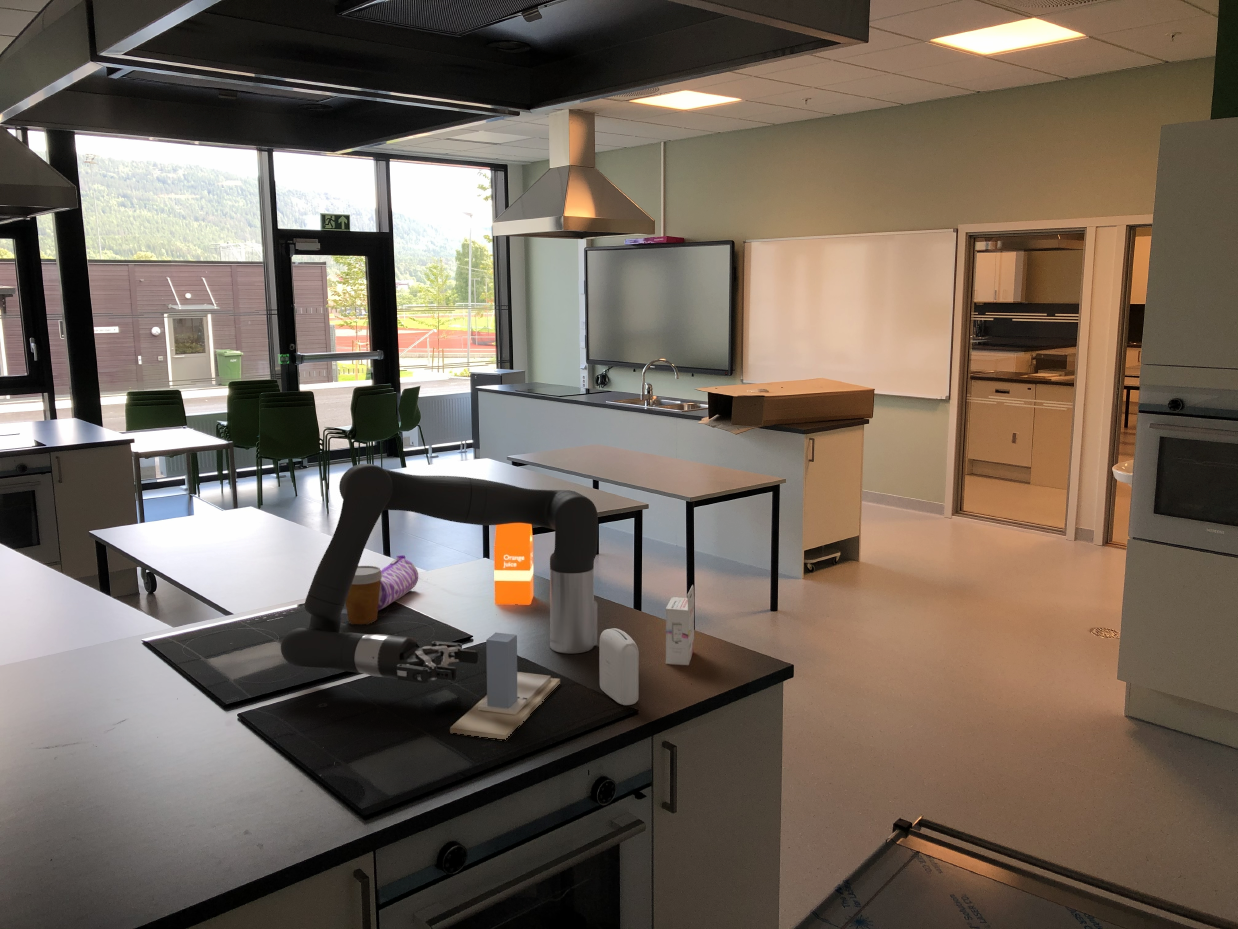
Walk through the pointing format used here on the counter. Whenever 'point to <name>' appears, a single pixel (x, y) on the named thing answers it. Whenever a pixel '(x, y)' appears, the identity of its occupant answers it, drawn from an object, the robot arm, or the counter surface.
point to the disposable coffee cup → (364, 595)
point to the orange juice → (513, 564)
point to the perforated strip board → (504, 724)
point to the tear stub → (502, 675)
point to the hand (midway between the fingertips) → (468, 665)
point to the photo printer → (618, 666)
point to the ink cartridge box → (680, 629)
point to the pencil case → (396, 580)
